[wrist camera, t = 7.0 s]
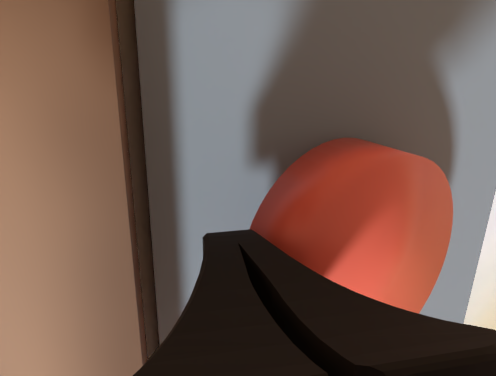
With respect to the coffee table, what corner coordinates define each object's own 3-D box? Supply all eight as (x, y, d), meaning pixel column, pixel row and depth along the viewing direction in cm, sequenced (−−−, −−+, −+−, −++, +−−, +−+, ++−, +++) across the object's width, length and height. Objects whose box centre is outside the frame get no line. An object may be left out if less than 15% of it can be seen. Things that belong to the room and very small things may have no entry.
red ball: (231, 366, 14) (276, 416, 12) (252, 144, 11) (311, 167, 10) (376, 305, 18) (425, 335, 16) (413, 132, 15) (474, 147, 14)
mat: (163, 394, 18) (163, 402, 17) (129, -63, 12) (128, -65, 11) (450, 347, 20) (455, 353, 20) (541, -43, 14) (552, -44, 14)
